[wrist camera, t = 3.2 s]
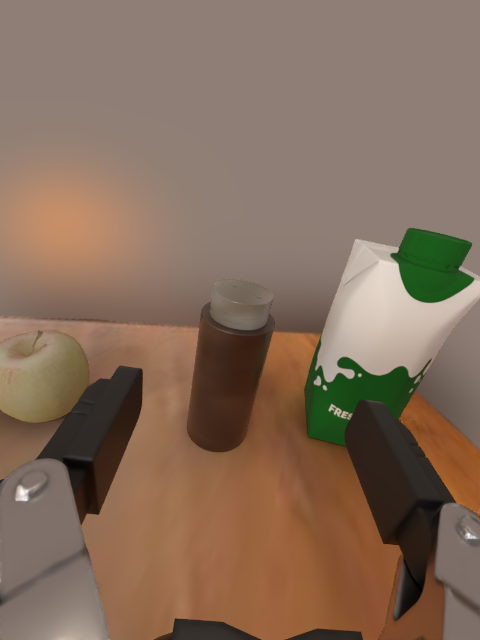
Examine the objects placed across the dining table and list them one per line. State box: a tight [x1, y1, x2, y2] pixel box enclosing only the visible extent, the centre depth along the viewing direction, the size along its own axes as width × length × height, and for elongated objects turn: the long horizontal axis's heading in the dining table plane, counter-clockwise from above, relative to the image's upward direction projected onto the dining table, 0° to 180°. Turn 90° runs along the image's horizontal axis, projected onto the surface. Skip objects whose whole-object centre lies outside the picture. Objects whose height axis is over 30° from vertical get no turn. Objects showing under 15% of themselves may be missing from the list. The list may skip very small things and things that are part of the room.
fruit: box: [0, 331, 89, 423], centre depth 24 cm, size 8×7×8 cm
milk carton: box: [304, 228, 480, 446], centre depth 26 cm, size 9×9×20 cm
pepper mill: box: [187, 280, 275, 452], centre depth 24 cm, size 6×6×14 cm
